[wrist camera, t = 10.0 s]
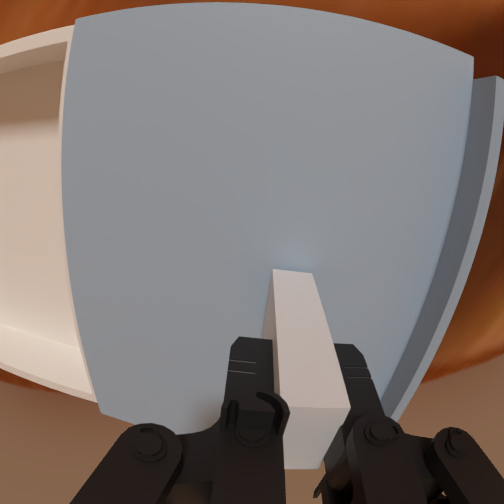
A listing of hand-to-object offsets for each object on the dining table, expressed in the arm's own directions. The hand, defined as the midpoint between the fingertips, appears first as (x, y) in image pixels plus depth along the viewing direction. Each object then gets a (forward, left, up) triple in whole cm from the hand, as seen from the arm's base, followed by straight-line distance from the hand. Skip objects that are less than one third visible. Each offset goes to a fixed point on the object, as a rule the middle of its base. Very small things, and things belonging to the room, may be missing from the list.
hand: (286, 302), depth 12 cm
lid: (-2, 0, +1) cm, 2 cm away
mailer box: (-18, 0, -7) cm, 19 cm away
